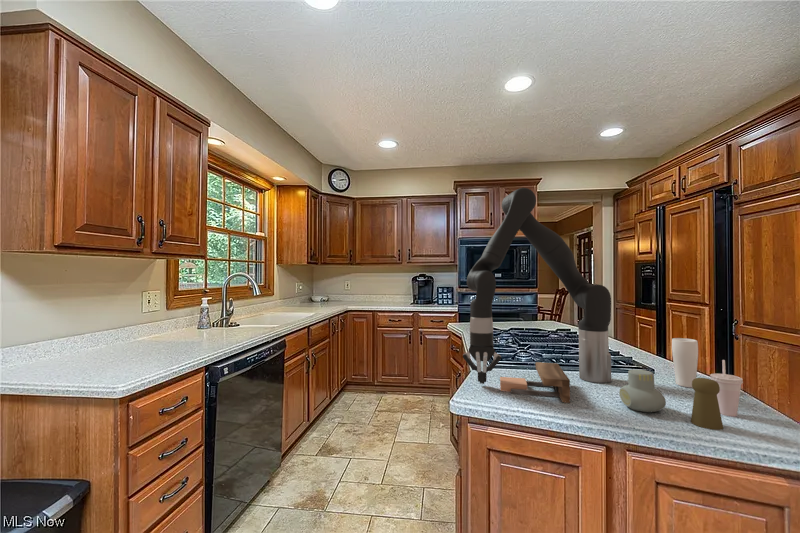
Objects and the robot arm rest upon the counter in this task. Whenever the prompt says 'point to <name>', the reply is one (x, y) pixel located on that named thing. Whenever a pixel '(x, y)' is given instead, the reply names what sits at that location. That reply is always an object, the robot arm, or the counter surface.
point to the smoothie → (728, 392)
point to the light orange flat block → (512, 383)
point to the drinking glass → (685, 360)
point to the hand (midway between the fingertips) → (482, 383)
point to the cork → (706, 404)
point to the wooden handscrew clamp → (549, 382)
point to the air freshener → (642, 392)
